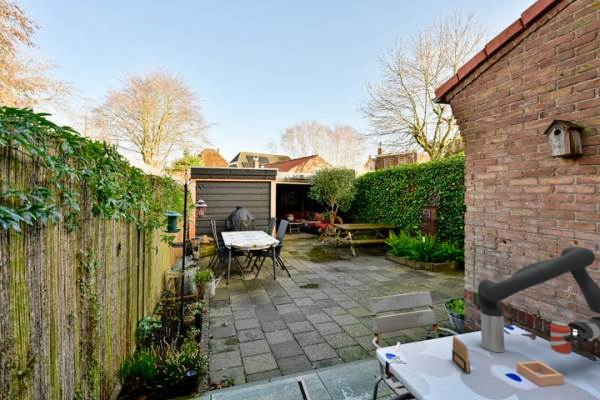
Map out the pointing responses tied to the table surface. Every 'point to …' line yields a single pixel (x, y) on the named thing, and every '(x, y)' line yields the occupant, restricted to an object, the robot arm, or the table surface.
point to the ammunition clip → (460, 355)
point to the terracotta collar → (541, 380)
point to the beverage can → (560, 337)
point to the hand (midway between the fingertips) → (556, 335)
